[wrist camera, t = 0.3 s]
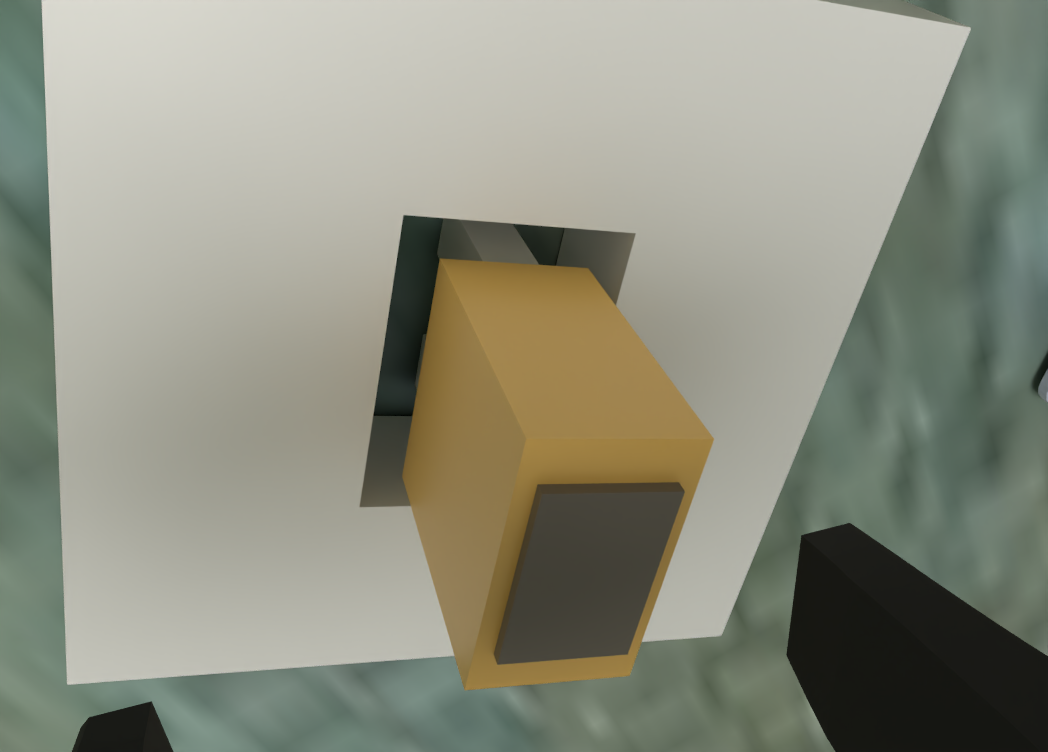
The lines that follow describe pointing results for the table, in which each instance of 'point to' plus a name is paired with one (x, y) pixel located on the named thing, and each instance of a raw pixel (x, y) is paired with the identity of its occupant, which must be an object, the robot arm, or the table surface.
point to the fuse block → (369, 266)
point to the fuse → (542, 465)
